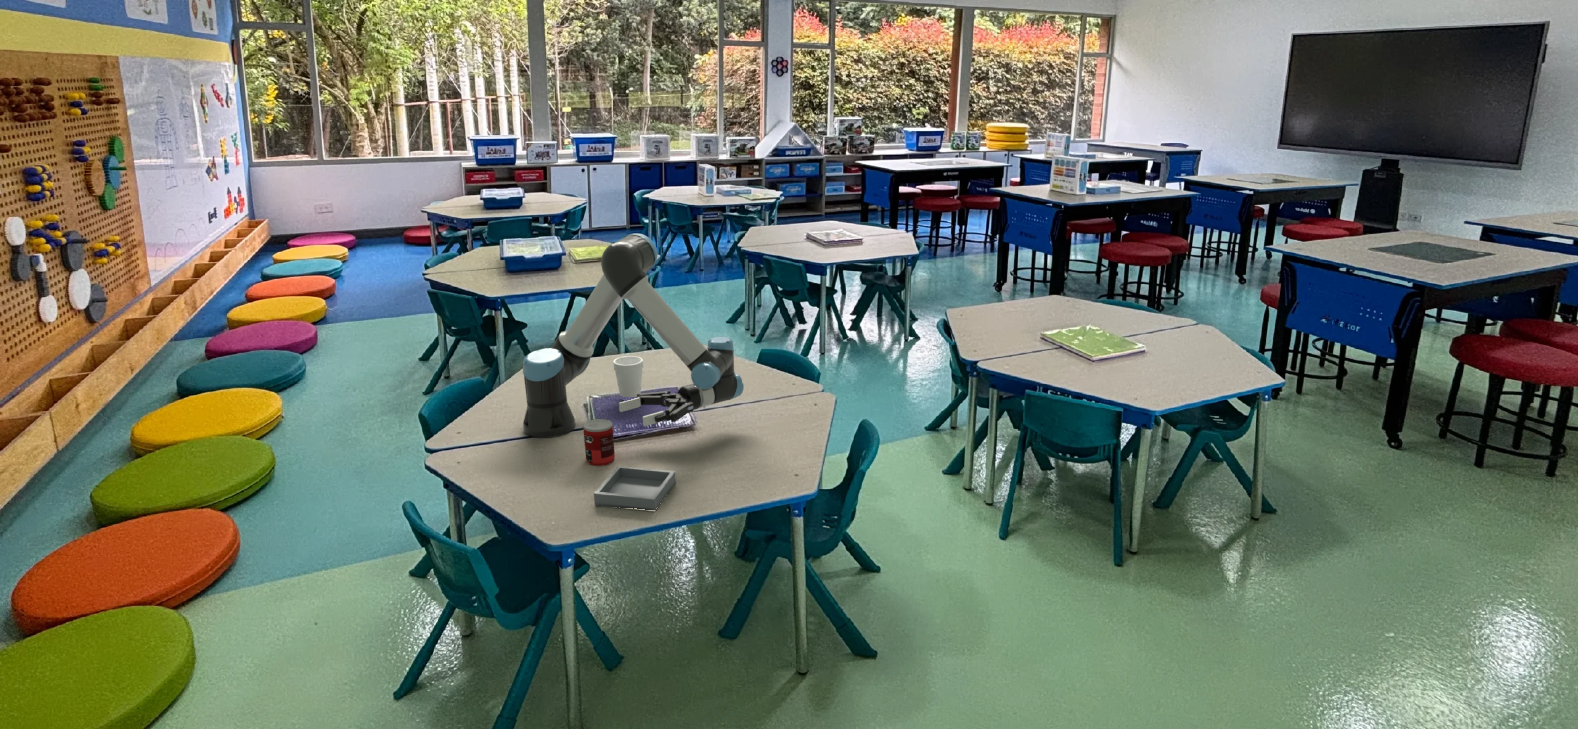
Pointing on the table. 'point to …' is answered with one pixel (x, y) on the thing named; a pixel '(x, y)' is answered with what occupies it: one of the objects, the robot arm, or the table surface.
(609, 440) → the canned food
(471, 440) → the table surface
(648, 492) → the tray
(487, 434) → the table surface
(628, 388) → the foam cup
